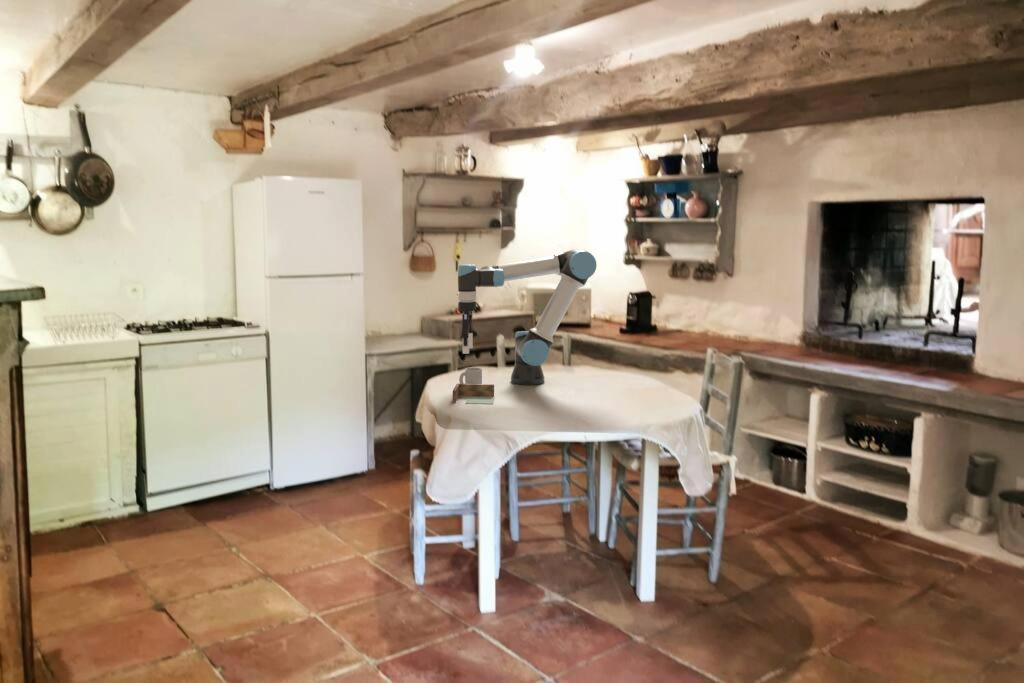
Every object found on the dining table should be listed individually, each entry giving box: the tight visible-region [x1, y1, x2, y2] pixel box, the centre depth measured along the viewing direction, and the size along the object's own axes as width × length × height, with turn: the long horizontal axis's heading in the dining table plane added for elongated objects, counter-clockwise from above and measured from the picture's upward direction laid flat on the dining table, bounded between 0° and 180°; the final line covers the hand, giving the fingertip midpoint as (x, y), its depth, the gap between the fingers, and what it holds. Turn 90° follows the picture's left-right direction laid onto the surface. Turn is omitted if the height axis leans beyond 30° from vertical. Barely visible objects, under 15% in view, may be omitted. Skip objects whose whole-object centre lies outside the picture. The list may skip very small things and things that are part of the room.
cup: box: [458, 367, 483, 384], centre depth 340 cm, size 7×10×9 cm
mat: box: [465, 396, 496, 405], centre depth 321 cm, size 11×12×1 cm
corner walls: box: [452, 383, 495, 404], centre depth 322 cm, size 16×14×5 cm
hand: (467, 350), depth 338 cm, fingers open, 13 cm apart
